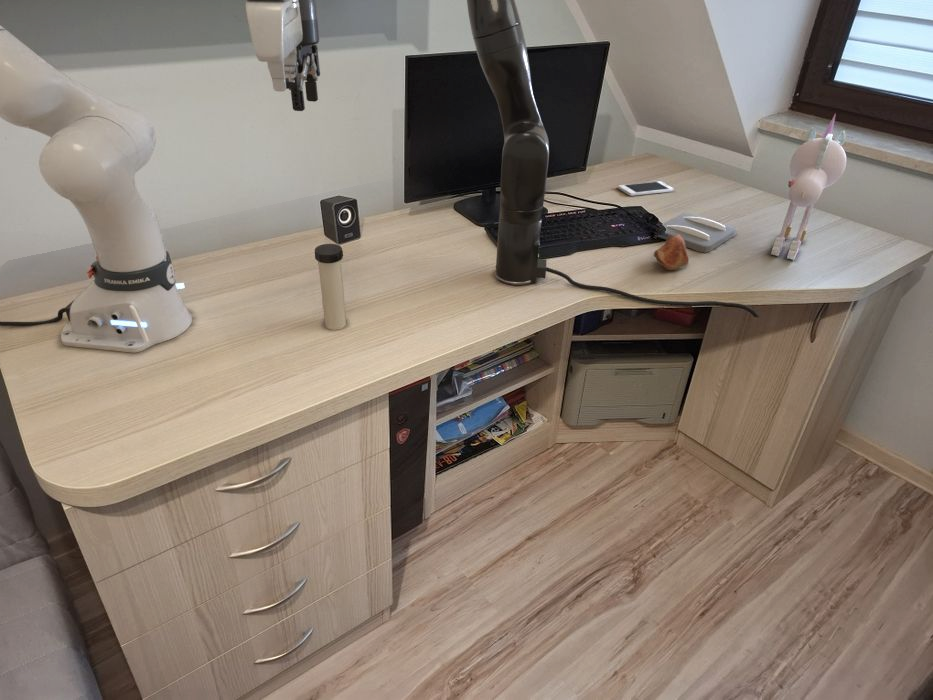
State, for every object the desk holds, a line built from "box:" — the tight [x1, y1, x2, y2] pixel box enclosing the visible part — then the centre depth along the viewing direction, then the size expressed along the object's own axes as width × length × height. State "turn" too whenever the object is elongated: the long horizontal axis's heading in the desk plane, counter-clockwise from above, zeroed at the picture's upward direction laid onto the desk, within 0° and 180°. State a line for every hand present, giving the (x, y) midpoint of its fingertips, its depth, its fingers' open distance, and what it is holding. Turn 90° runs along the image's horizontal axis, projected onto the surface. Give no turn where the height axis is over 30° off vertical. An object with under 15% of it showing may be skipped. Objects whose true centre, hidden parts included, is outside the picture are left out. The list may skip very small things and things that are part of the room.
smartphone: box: [617, 180, 674, 197], centre depth 196 cm, size 7×16×1 cm, turn 111°
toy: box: [770, 112, 847, 261], centre depth 159 cm, size 12×36×30 cm, turn 148°
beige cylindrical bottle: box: [317, 259, 347, 331], centre depth 121 cm, size 4×4×16 cm
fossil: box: [653, 234, 690, 271], centre depth 150 cm, size 13×8×10 cm
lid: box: [314, 243, 344, 263], centre depth 117 cm, size 5×5×2 cm
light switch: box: [654, 212, 737, 253], centre depth 167 cm, size 18×3×15 cm
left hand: (286, 83), depth 98 cm, fingers open, 8 cm apart
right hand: (306, 105), depth 129 cm, fingers open, 8 cm apart
